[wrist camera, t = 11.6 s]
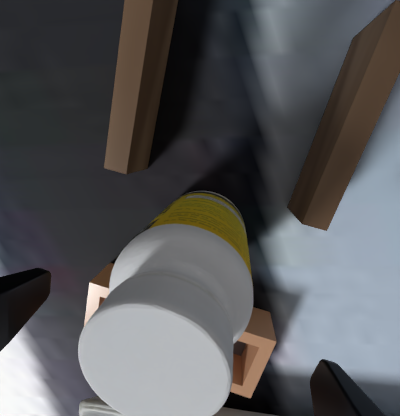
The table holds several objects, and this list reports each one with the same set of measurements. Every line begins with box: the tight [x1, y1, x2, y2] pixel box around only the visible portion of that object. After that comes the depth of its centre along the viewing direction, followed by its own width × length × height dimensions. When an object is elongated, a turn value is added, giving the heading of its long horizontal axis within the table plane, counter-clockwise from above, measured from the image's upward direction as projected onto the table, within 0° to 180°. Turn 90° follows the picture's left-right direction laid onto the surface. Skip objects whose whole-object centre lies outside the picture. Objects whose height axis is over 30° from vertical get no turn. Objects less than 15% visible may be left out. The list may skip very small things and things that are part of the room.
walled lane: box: [104, 0, 400, 231], centre depth 11 cm, size 11×9×3 cm
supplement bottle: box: [78, 191, 253, 416], centre depth 10 cm, size 5×5×10 cm
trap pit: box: [84, 263, 277, 399], centre depth 16 cm, size 12×5×2 cm, turn 76°
